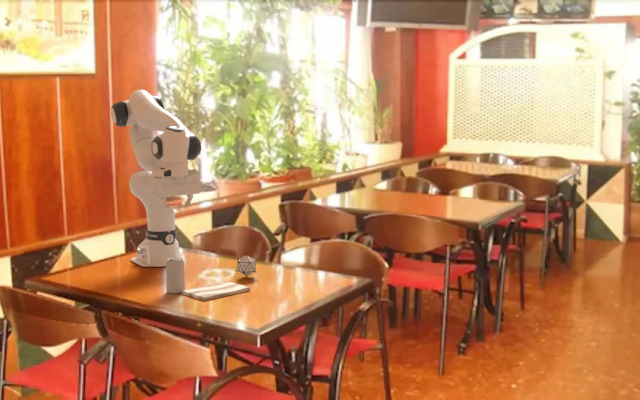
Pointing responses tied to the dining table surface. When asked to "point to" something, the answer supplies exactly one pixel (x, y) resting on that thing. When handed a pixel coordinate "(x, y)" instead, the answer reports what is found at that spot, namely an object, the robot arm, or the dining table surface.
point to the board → (215, 290)
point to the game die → (246, 265)
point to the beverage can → (175, 275)
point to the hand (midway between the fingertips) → (177, 207)
